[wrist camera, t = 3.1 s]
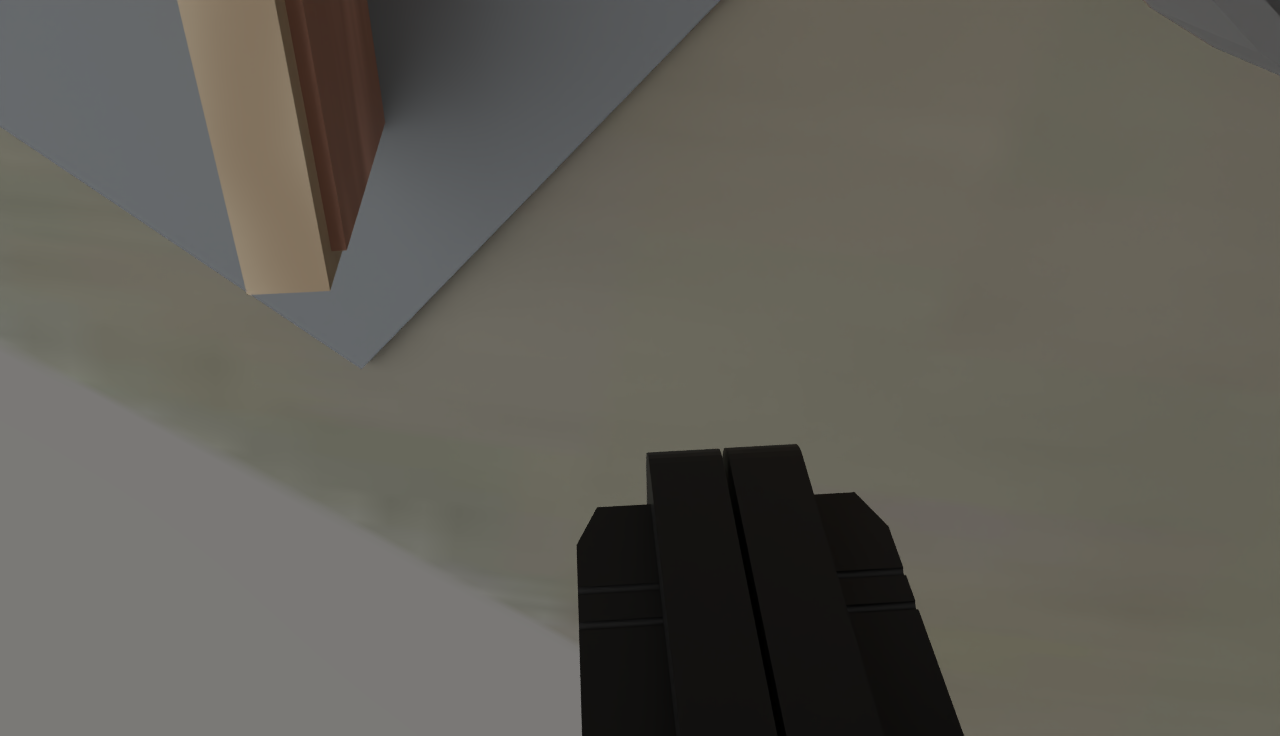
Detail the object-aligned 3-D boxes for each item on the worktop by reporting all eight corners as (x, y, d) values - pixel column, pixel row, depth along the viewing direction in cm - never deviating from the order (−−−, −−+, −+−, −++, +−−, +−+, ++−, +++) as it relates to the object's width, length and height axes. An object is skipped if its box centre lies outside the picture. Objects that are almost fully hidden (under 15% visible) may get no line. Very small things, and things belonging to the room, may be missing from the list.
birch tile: (314, 134, 29) (247, 294, 23) (259, -169, 26) (157, -81, 19) (391, 130, 30) (345, 290, 23) (347, -172, 26) (276, -86, 19)
